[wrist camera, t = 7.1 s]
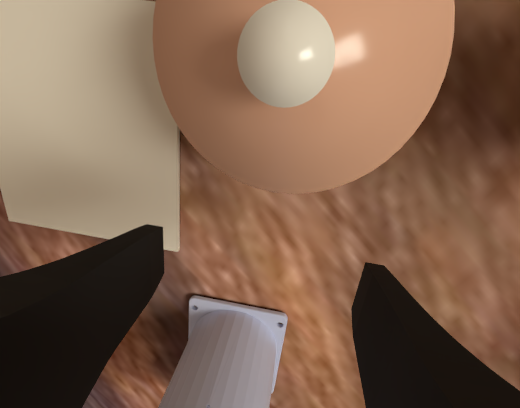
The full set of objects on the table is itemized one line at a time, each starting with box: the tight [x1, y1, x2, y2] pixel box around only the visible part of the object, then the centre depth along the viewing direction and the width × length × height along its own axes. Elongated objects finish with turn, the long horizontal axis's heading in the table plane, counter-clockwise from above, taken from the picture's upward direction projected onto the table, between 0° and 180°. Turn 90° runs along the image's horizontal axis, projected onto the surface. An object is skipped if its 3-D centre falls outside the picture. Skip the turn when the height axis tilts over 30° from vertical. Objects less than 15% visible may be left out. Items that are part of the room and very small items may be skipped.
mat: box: [0, 0, 180, 252], centre depth 21 cm, size 16×14×1 cm
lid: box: [153, 0, 455, 194], centre depth 10 cm, size 10×10×4 cm
